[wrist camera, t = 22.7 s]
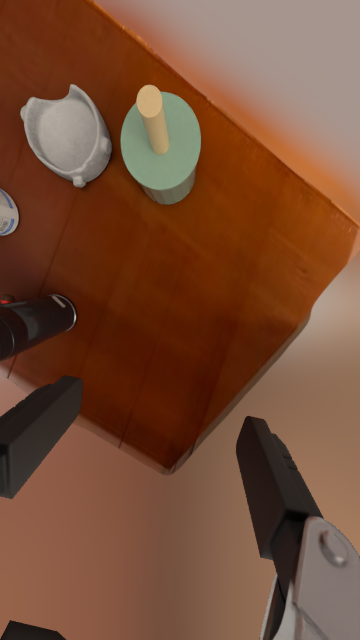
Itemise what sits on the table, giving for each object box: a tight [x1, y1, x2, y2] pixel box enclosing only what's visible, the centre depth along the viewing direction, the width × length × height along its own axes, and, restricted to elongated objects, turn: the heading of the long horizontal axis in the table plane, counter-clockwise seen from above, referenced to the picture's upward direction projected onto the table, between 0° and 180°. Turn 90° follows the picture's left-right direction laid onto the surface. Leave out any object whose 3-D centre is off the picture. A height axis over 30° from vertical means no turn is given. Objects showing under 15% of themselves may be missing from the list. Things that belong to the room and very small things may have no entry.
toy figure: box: [1, 294, 15, 304], centre depth 45 cm, size 18×6×7 cm, turn 147°
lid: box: [121, 85, 201, 191], centre depth 26 cm, size 12×12×9 cm
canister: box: [139, 166, 196, 204], centre depth 34 cm, size 11×11×8 cm
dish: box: [21, 84, 112, 187], centre depth 35 cm, size 14×14×5 cm
